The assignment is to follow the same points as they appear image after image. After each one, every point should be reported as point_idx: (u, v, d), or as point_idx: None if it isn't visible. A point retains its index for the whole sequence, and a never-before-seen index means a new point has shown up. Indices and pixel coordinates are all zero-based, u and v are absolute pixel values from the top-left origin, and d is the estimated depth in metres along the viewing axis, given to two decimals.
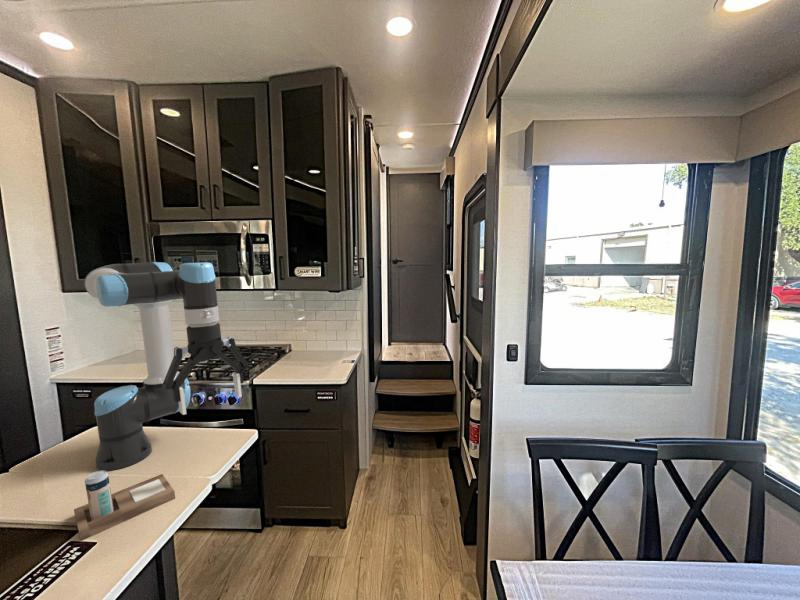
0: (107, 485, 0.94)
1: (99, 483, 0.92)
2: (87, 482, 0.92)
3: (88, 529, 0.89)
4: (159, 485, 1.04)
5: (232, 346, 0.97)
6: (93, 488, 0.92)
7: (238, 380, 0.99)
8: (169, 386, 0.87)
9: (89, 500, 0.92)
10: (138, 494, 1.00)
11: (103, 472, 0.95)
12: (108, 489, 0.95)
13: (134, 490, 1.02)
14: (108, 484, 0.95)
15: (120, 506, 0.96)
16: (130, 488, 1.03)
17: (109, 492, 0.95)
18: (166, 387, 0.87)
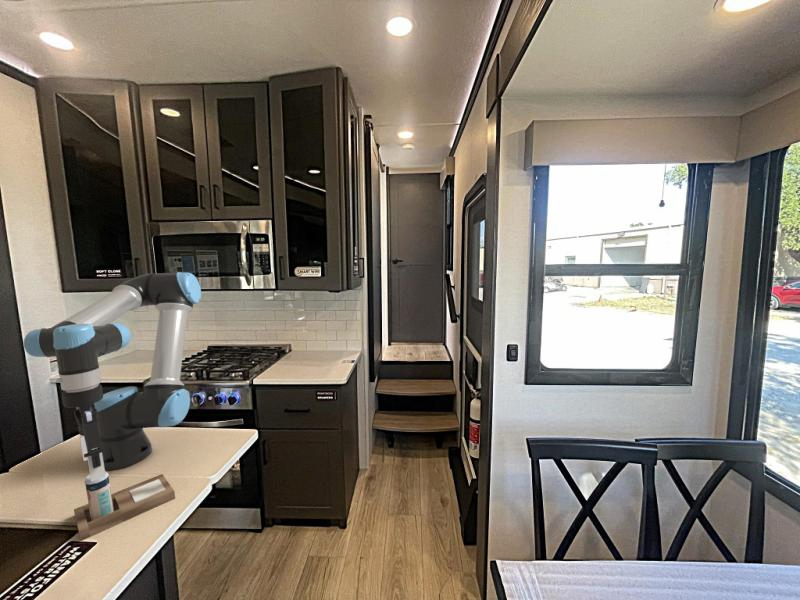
0: (107, 485, 0.94)
1: (99, 483, 0.92)
2: (87, 482, 0.92)
3: (88, 529, 0.89)
4: (159, 485, 1.04)
5: (82, 423, 0.86)
6: (93, 489, 0.92)
7: (88, 462, 0.87)
8: (78, 429, 0.98)
9: (89, 500, 0.92)
10: (138, 494, 1.00)
11: None
12: (108, 489, 0.95)
13: (134, 490, 1.02)
14: (108, 484, 0.95)
15: (120, 506, 0.96)
16: (130, 488, 1.03)
17: (109, 492, 0.95)
18: (78, 428, 0.98)
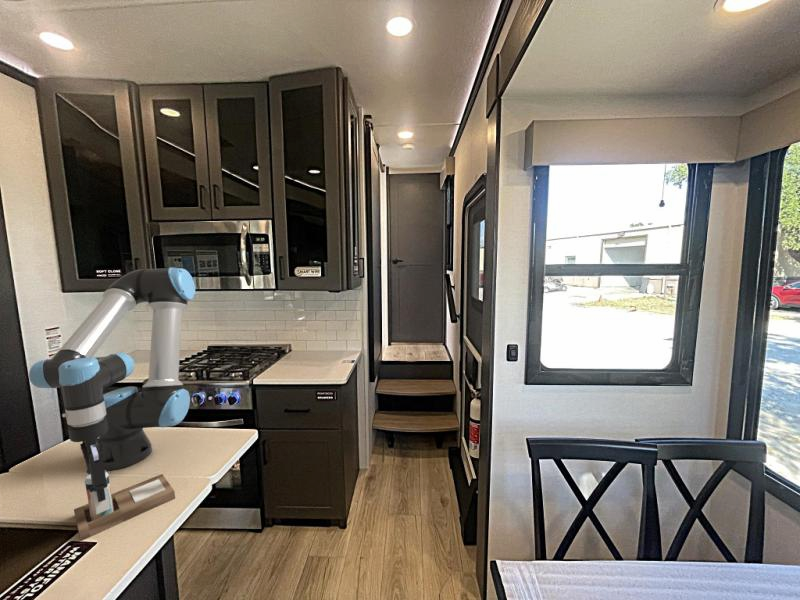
0: (107, 485, 0.94)
1: None
2: (87, 482, 0.92)
3: (88, 529, 0.89)
4: (159, 485, 1.04)
5: (89, 461, 0.88)
6: None
7: (93, 496, 0.91)
8: (87, 471, 0.96)
9: (89, 500, 0.92)
10: (138, 494, 1.00)
11: None
12: (108, 489, 0.95)
13: (134, 490, 1.02)
14: (108, 484, 0.95)
15: (120, 506, 0.96)
16: (130, 488, 1.03)
17: (109, 492, 0.95)
18: (87, 472, 0.97)
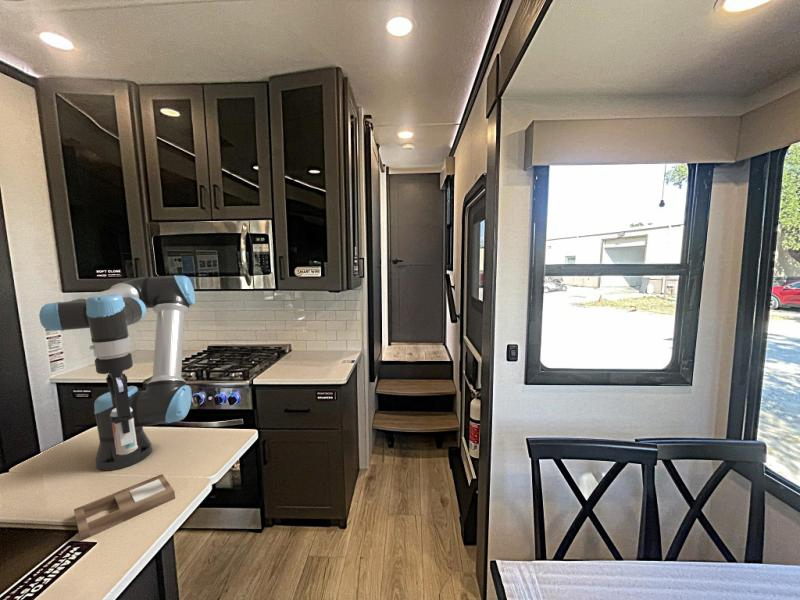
0: (131, 419, 0.97)
1: None
2: (112, 415, 0.95)
3: (88, 529, 0.89)
4: (159, 485, 1.04)
5: (114, 392, 0.91)
6: None
7: (118, 428, 0.94)
8: (112, 407, 1.00)
9: (114, 432, 0.95)
10: (138, 494, 1.00)
11: None
12: (132, 423, 0.97)
13: (134, 490, 1.02)
14: (132, 419, 0.97)
15: (120, 506, 0.96)
16: (130, 488, 1.03)
17: (133, 427, 0.98)
18: None
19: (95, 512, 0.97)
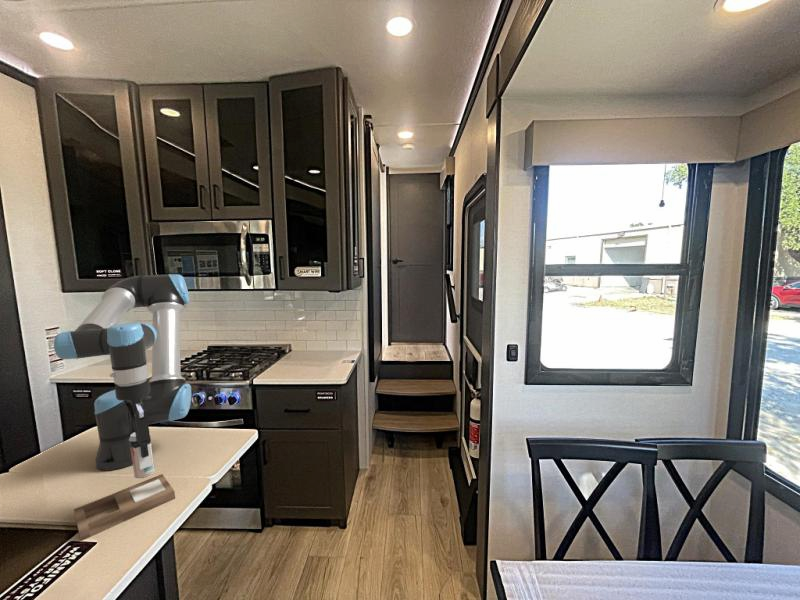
0: None
1: None
2: (131, 439, 0.98)
3: (88, 529, 0.89)
4: (159, 485, 1.04)
5: (135, 418, 0.94)
6: None
7: (137, 452, 0.98)
8: (129, 431, 1.03)
9: (133, 456, 0.98)
10: (138, 494, 1.00)
11: None
12: (150, 447, 1.01)
13: (134, 490, 1.02)
14: None
15: (120, 506, 0.96)
16: (130, 488, 1.03)
17: (151, 450, 1.01)
18: None
19: (95, 512, 0.97)
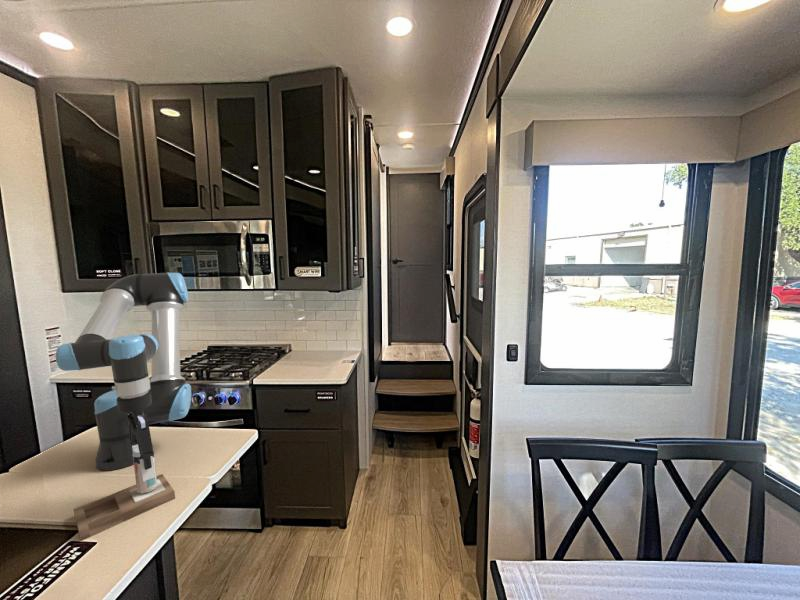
0: None
1: None
2: (135, 455, 0.99)
3: (88, 529, 0.89)
4: (159, 485, 1.04)
5: (137, 429, 0.95)
6: None
7: (140, 464, 0.97)
8: (129, 438, 1.04)
9: (136, 472, 0.99)
10: (138, 494, 1.00)
11: None
12: (153, 462, 1.02)
13: (134, 490, 1.02)
14: (153, 458, 1.02)
15: (120, 506, 0.96)
16: (130, 488, 1.03)
17: (154, 465, 1.02)
18: None
19: (95, 512, 0.97)
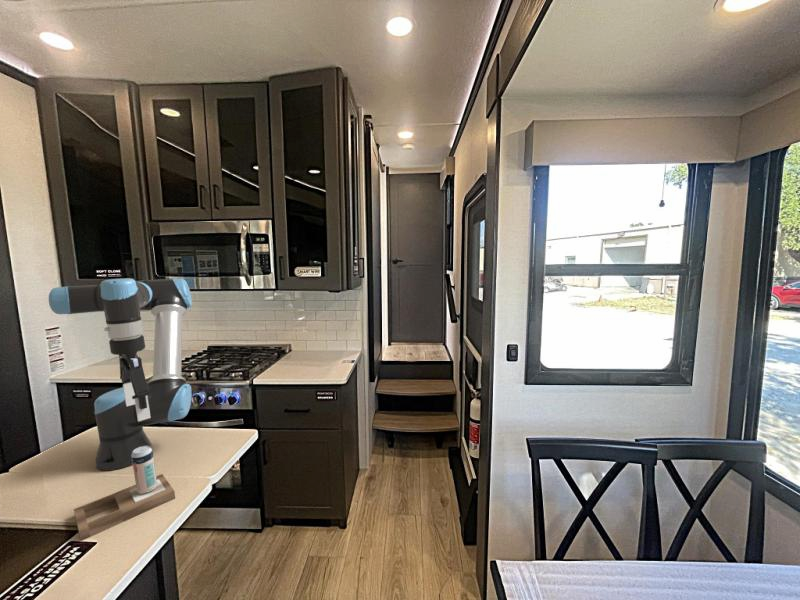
0: (151, 459, 1.01)
1: (145, 457, 0.99)
2: (134, 456, 0.99)
3: (88, 529, 0.89)
4: (159, 485, 1.04)
5: (130, 368, 0.94)
6: (139, 462, 0.99)
7: (135, 404, 0.95)
8: (120, 377, 1.05)
9: (136, 472, 0.99)
10: (138, 494, 1.00)
11: (147, 447, 1.02)
12: (152, 462, 1.02)
13: (134, 490, 1.02)
14: (152, 458, 1.02)
15: (120, 506, 0.96)
16: (130, 488, 1.03)
17: (153, 465, 1.02)
18: (120, 377, 1.06)
19: (95, 512, 0.97)
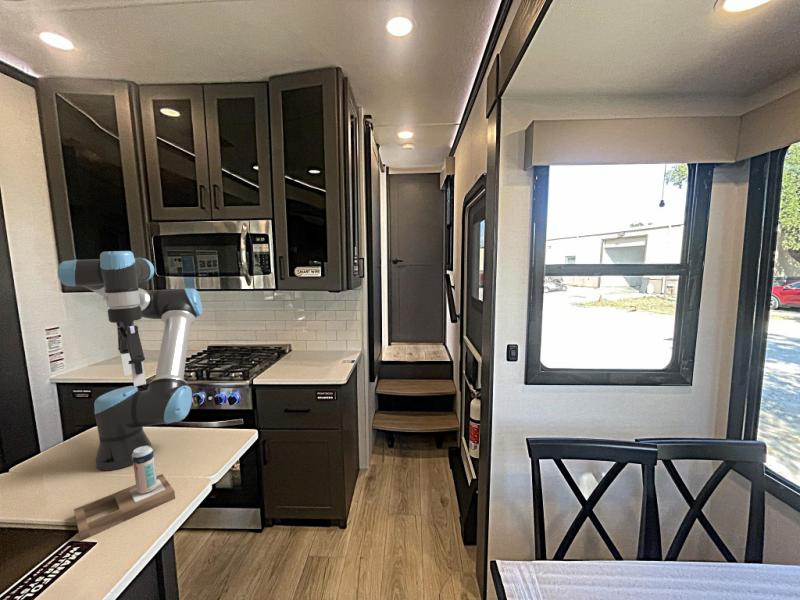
0: (152, 459, 1.01)
1: (145, 457, 1.00)
2: (135, 455, 0.99)
3: (88, 529, 0.89)
4: (159, 485, 1.04)
5: (127, 334, 0.99)
6: (140, 461, 0.99)
7: (131, 369, 1.00)
8: (118, 348, 1.10)
9: (136, 472, 0.99)
10: (138, 494, 1.00)
11: (148, 447, 1.02)
12: (153, 462, 1.02)
13: (134, 490, 1.02)
14: (153, 458, 1.02)
15: (120, 506, 0.96)
16: (130, 488, 1.03)
17: (153, 465, 1.02)
18: (118, 348, 1.11)
19: (95, 512, 0.97)
